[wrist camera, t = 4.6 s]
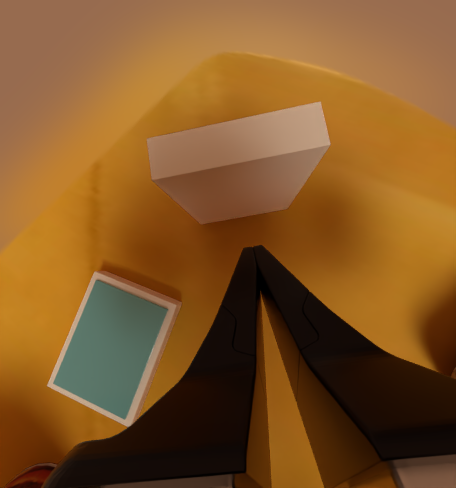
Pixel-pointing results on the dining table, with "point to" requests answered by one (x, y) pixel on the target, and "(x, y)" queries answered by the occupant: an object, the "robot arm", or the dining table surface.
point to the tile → (240, 163)
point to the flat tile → (115, 346)
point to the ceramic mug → (454, 373)
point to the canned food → (32, 476)
